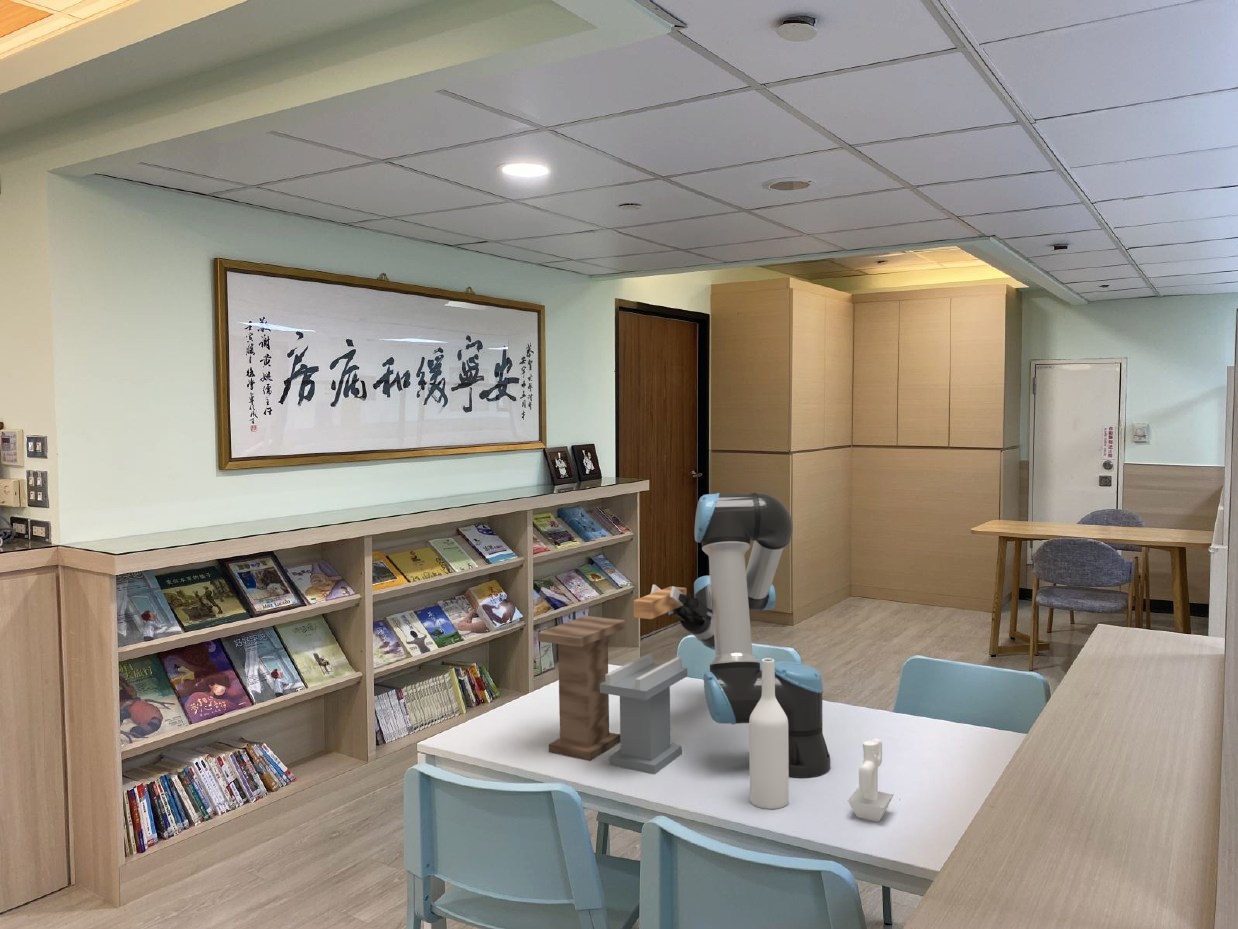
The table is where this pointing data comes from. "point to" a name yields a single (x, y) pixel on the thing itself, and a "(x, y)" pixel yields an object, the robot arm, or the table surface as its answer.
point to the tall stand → (583, 686)
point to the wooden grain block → (656, 603)
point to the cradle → (644, 712)
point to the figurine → (870, 785)
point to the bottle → (768, 746)
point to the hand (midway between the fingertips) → (662, 590)
